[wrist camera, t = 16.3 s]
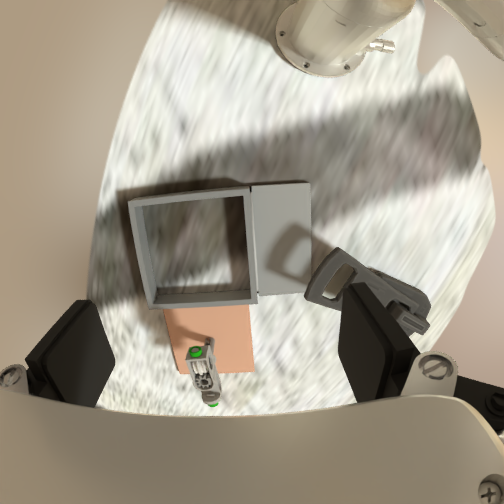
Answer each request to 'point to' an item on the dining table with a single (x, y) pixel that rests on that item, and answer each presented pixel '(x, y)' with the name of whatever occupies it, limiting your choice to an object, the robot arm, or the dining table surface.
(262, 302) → the dining table surface
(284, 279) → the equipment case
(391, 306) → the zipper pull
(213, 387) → the mechanical component
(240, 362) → the rubber mat
